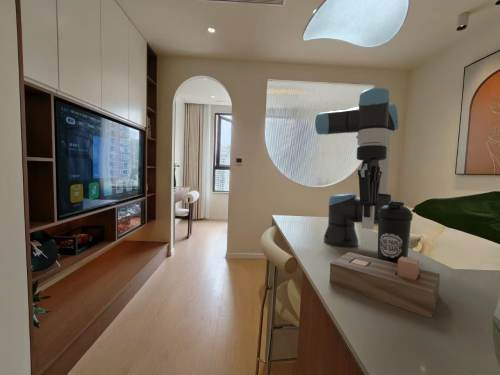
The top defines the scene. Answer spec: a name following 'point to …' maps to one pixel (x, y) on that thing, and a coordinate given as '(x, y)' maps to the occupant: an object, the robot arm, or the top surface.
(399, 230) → the water bottle
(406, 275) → the peg
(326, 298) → the top surface
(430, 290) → the socket block
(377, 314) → the top surface
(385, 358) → the top surface
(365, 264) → the peg
